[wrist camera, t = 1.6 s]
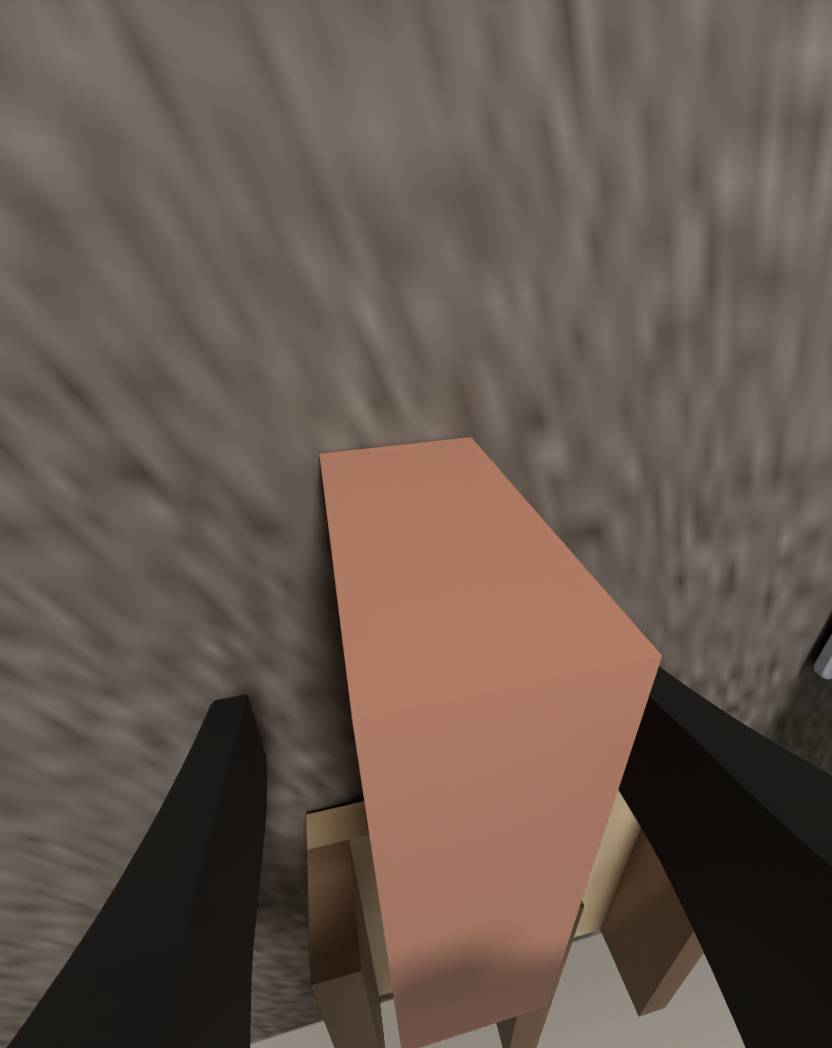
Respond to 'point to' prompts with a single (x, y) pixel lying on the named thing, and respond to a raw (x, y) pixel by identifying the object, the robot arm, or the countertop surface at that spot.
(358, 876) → the book rack
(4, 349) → the countertop surface
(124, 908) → the robot arm
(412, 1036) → the book
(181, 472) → the countertop surface
